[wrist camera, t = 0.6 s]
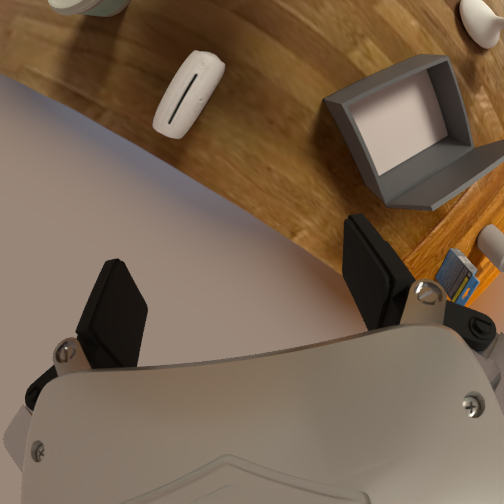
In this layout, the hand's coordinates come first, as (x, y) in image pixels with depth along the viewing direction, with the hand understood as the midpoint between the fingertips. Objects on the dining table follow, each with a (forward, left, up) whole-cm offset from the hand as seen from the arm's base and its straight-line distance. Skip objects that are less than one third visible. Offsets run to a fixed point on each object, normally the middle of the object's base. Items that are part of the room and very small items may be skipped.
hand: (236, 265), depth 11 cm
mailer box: (-9, +25, -30) cm, 40 cm away
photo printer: (-5, -5, -31) cm, 32 cm away
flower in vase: (-37, +37, -31) cm, 60 cm away
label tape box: (+16, +55, -31) cm, 65 cm away
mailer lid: (-6, +28, -16) cm, 33 cm away
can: (+6, +65, -31) cm, 72 cm away
